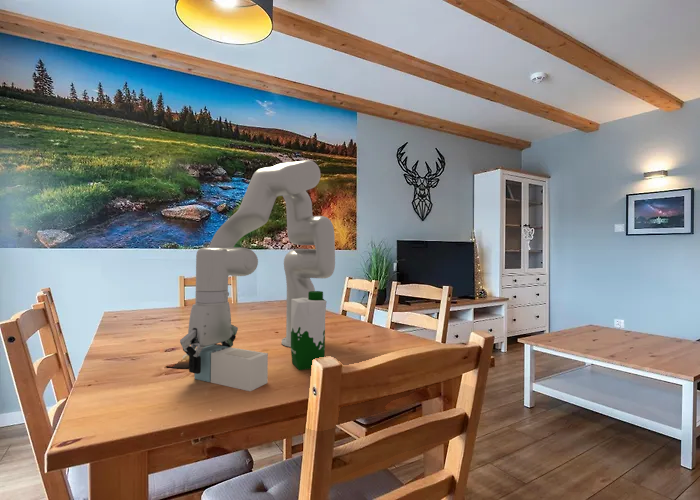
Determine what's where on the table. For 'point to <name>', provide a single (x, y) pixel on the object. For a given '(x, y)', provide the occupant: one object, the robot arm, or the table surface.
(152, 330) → the table surface
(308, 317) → the milk carton
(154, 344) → the table surface
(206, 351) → the stub
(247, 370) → the block
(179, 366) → the parchment
